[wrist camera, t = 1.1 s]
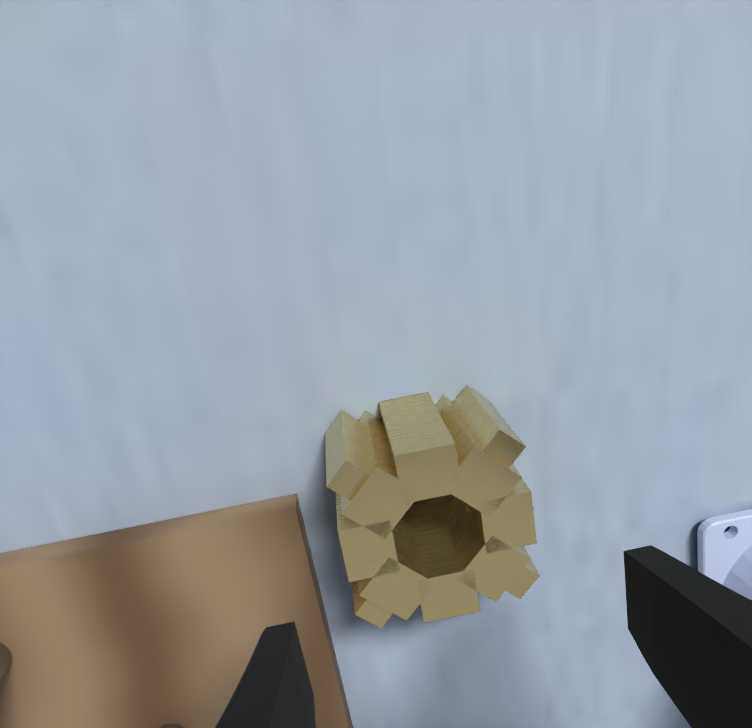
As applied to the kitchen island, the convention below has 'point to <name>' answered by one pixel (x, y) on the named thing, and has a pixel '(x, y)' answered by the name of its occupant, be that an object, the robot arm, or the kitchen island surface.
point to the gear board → (159, 620)
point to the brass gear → (430, 507)
